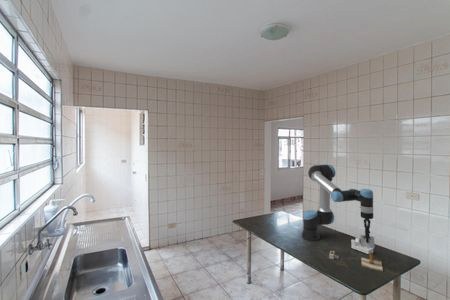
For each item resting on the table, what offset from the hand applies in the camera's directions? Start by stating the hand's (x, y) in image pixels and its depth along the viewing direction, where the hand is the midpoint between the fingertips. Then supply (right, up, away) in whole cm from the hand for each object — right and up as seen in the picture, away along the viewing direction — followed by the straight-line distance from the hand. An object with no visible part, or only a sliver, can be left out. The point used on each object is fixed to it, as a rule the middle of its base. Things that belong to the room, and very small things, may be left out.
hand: (367, 244), depth 164 cm
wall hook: (-16, -14, +11) cm, 24 cm away
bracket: (+8, -13, +20) cm, 26 cm away
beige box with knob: (-19, -14, +12) cm, 27 cm away
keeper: (+3, -14, 0) cm, 14 cm away
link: (0, 0, 0) cm, 0 cm away
